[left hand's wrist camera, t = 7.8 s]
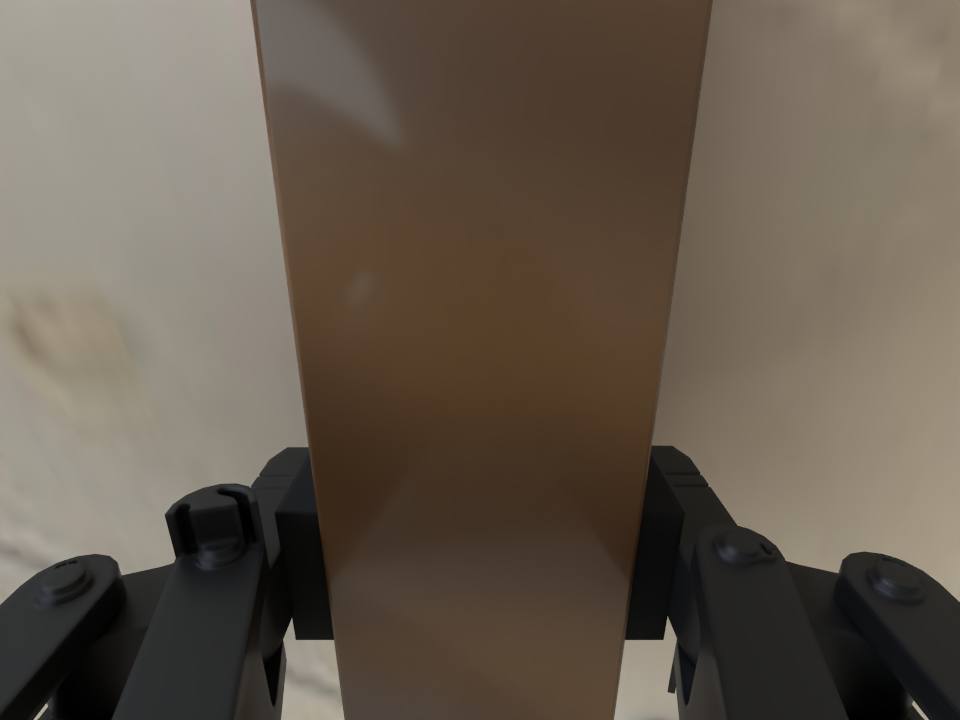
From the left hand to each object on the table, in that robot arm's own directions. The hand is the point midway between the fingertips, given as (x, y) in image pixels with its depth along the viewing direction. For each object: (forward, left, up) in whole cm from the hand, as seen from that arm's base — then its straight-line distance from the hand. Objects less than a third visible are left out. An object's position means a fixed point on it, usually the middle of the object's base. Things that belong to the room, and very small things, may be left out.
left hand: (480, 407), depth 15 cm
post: (-3, +32, -1) cm, 32 cm away
